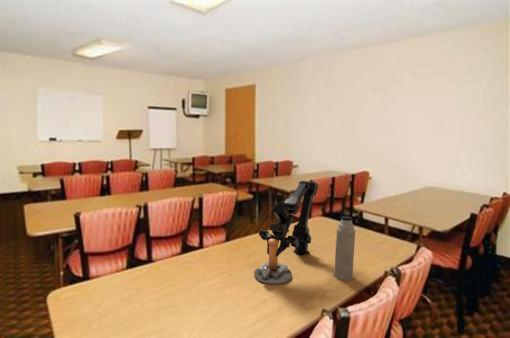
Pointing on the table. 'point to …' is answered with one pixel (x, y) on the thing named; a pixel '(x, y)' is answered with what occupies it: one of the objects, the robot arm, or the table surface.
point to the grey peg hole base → (273, 274)
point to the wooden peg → (273, 253)
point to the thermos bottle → (344, 249)
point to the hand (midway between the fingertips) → (272, 255)
